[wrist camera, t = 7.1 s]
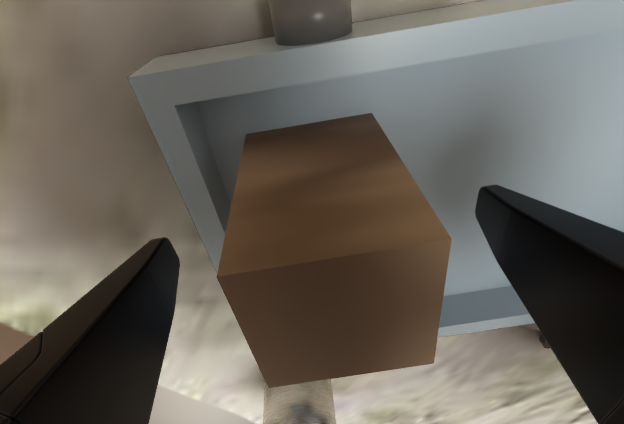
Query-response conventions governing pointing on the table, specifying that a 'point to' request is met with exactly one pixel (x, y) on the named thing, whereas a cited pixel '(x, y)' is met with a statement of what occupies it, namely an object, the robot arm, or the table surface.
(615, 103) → the cart
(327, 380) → the shiny metal cylinder
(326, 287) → the walnut block
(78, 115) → the table surface
